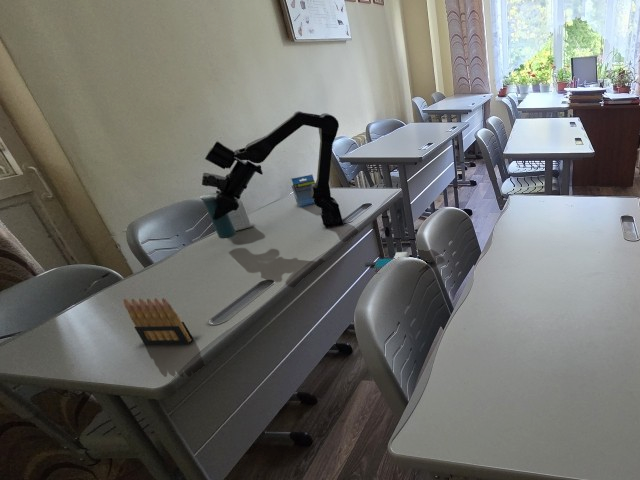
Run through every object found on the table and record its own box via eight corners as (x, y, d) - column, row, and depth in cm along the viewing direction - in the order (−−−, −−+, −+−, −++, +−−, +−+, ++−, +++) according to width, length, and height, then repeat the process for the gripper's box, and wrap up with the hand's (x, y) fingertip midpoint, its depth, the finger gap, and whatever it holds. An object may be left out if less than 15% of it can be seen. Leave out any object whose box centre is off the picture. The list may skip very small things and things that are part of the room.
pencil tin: (240, 232, 138) (224, 192, 131) (229, 238, 133) (212, 198, 126) (225, 232, 138) (208, 193, 131) (214, 238, 134) (196, 198, 127)
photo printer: (250, 224, 156) (238, 193, 149) (253, 226, 153) (241, 195, 147) (220, 232, 150) (207, 200, 143) (223, 235, 147) (209, 203, 141)
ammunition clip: (194, 339, 92) (170, 295, 86) (188, 344, 91) (163, 300, 85) (150, 339, 93) (123, 296, 87) (144, 344, 91) (116, 301, 85)
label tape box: (317, 200, 178) (309, 172, 172) (320, 202, 175) (312, 174, 169) (297, 205, 173) (288, 176, 167) (300, 207, 171) (291, 178, 164)
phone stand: (433, 252, 126) (433, 247, 125) (428, 270, 116) (428, 265, 115) (370, 255, 126) (369, 251, 125) (360, 274, 116) (359, 269, 115)
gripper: (213, 157, 132) (189, 196, 134) (210, 169, 118) (183, 212, 119) (249, 176, 140) (225, 213, 141) (249, 189, 125) (223, 230, 127)
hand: (214, 216), depth 132 cm, fingers closed on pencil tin, 5 cm apart
